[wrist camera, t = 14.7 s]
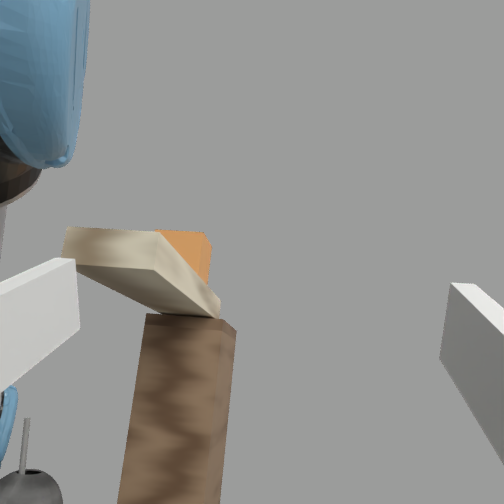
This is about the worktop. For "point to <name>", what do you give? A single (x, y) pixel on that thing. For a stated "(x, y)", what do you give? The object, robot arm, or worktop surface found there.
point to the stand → (179, 412)
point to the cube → (191, 249)
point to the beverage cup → (28, 482)
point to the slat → (141, 270)
